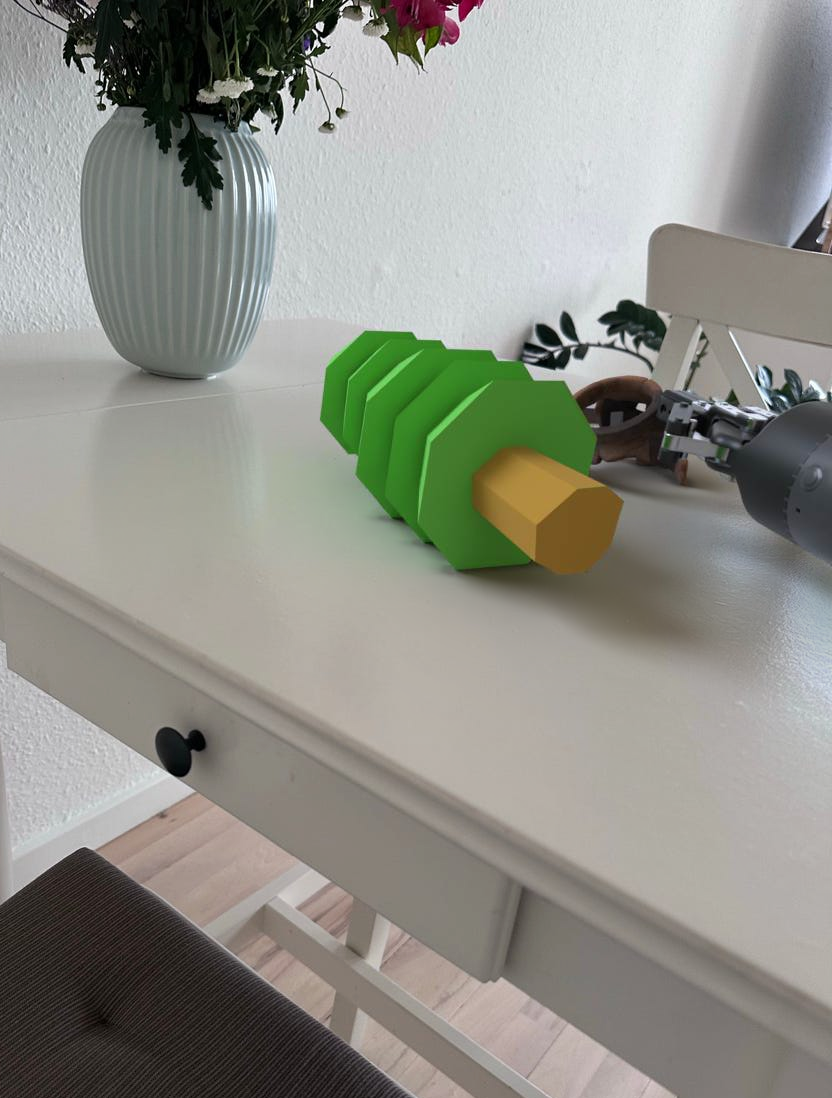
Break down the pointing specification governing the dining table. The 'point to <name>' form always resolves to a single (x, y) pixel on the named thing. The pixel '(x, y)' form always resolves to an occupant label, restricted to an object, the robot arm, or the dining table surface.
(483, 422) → the decorative tree
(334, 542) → the dining table surface
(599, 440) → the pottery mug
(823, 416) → the robot arm
